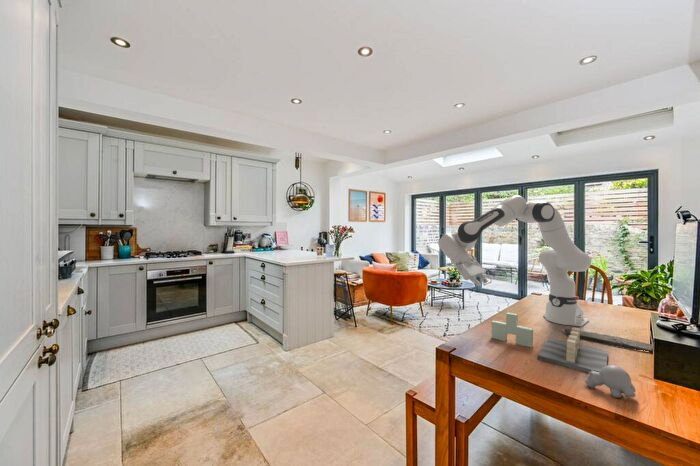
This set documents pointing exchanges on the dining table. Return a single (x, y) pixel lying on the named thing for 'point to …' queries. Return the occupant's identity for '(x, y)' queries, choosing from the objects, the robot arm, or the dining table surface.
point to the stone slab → (612, 340)
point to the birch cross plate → (573, 354)
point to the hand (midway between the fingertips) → (483, 284)
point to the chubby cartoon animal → (612, 381)
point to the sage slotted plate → (512, 330)
